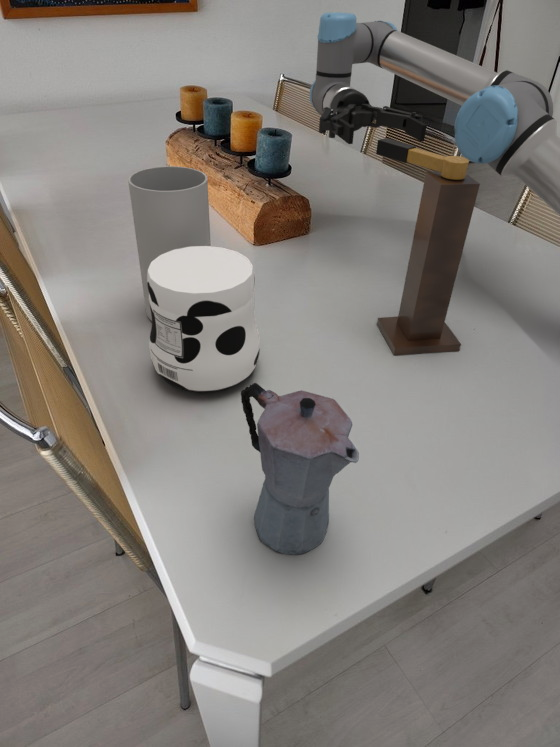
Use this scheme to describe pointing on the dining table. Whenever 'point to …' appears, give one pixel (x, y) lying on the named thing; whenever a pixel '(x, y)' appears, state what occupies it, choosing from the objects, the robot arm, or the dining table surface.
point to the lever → (423, 158)
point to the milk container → (203, 318)
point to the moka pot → (297, 464)
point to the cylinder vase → (168, 213)
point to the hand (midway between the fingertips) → (388, 134)
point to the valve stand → (432, 268)
